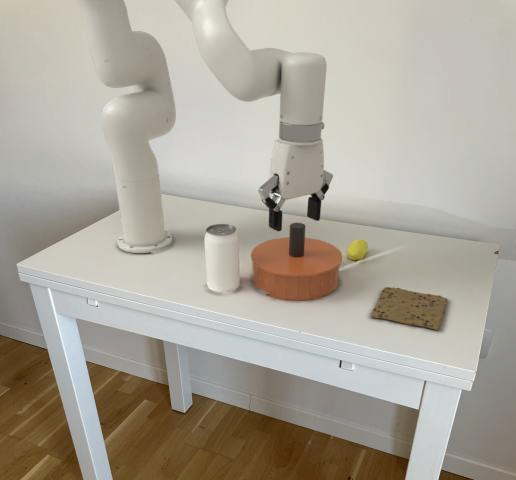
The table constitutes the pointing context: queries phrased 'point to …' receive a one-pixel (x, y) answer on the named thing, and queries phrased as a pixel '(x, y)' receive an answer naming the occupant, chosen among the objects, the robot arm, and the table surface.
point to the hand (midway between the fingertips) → (294, 223)
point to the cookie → (410, 307)
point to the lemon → (357, 249)
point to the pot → (295, 284)
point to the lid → (296, 255)
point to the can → (222, 257)
